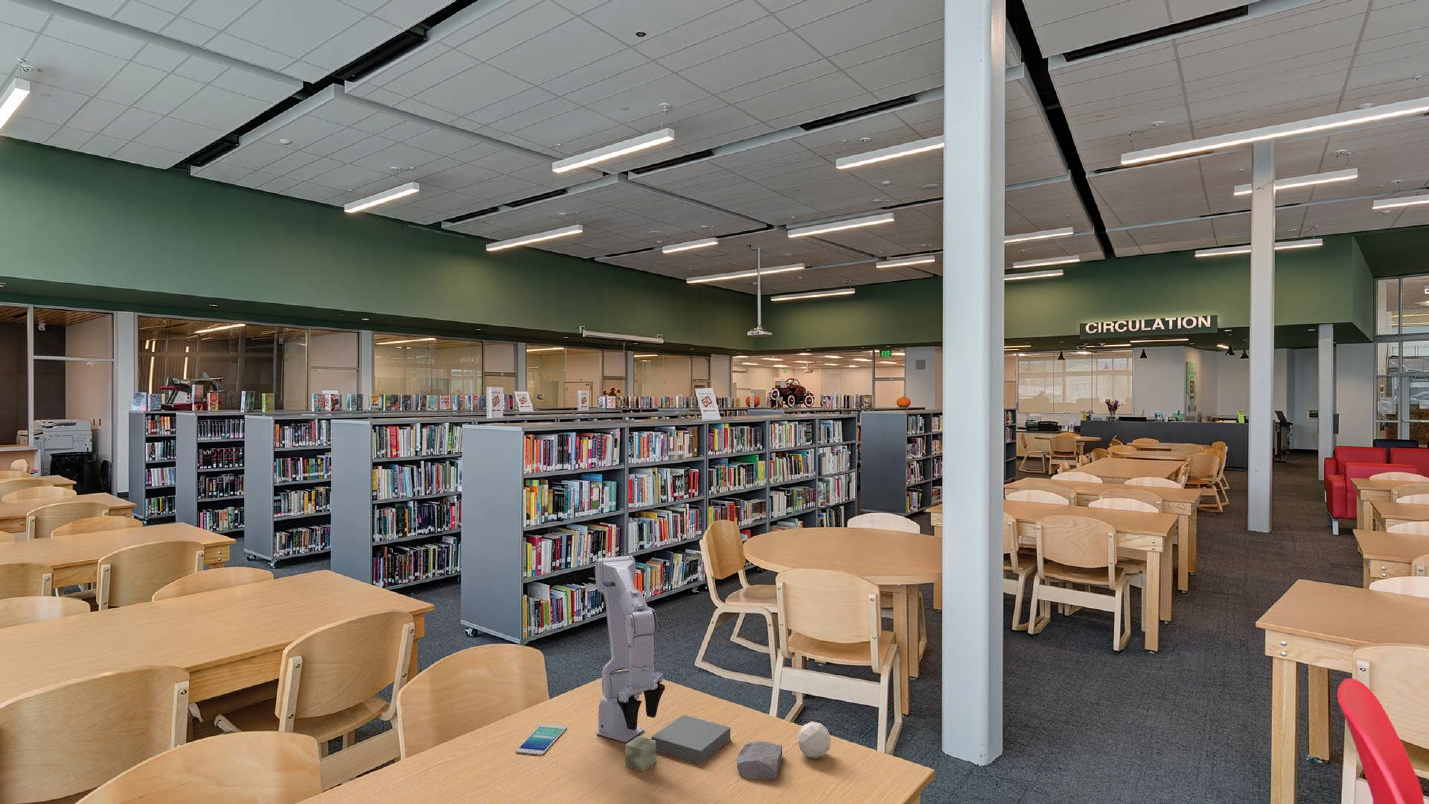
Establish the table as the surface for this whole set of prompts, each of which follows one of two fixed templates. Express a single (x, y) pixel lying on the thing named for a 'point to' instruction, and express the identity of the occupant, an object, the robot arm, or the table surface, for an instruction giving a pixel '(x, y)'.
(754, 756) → the stone block
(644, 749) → the sage green cube
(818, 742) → the geometric ball
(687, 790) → the table surface
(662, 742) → the stacking base
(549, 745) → the smartphone
